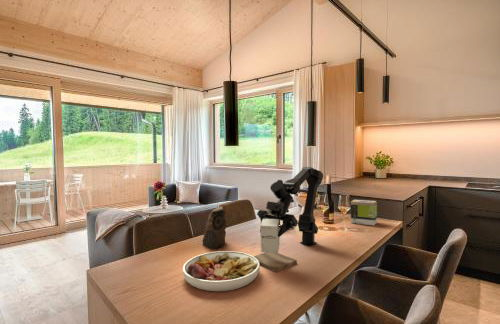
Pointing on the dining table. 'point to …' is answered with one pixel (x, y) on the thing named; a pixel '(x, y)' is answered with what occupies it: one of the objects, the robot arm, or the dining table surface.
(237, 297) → the dining table surface
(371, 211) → the tea box
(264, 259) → the walnut board
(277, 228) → the supplement box
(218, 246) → the owl
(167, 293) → the dining table surface
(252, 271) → the bowl
